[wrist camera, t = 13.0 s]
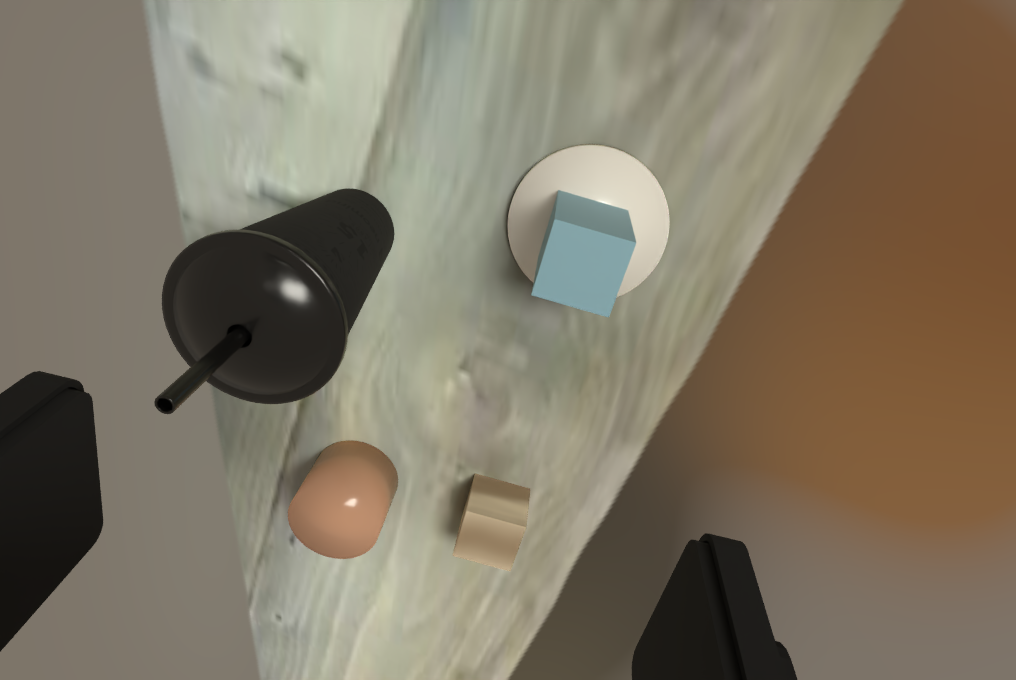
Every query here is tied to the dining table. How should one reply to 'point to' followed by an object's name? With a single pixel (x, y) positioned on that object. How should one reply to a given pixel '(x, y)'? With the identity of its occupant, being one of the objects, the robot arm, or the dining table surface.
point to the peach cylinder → (344, 500)
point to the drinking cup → (274, 299)
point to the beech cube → (492, 522)
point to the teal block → (584, 254)
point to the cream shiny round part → (597, 179)
